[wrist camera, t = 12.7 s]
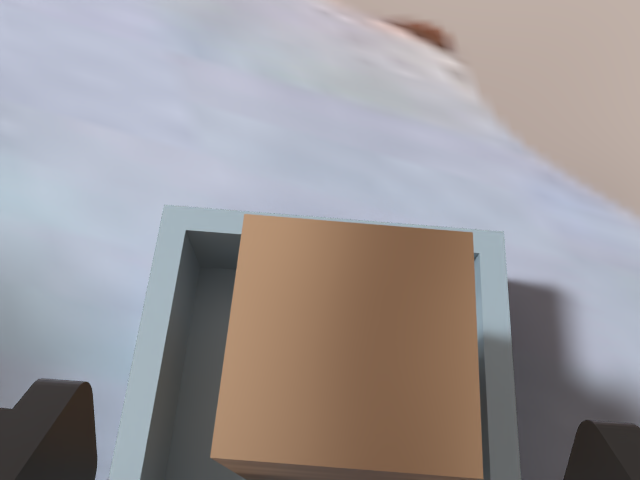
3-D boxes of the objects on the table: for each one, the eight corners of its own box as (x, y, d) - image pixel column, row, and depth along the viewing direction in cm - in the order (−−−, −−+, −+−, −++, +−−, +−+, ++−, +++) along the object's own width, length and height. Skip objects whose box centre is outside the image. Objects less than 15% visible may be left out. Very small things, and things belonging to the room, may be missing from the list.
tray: (123, 584, 17) (83, 602, 14) (184, 251, 22) (163, 204, 18) (486, 611, 17) (531, 635, 14) (472, 273, 22) (503, 231, 18)
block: (248, 481, 18) (210, 457, 10) (265, 336, 20) (243, 213, 12) (397, 492, 18) (483, 479, 10) (399, 347, 20) (472, 232, 12)
